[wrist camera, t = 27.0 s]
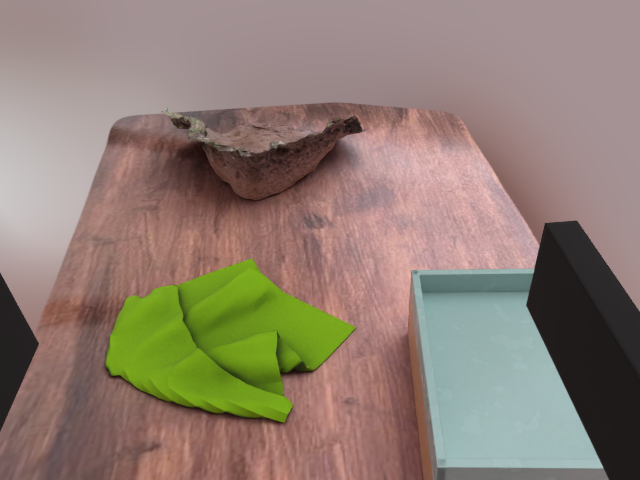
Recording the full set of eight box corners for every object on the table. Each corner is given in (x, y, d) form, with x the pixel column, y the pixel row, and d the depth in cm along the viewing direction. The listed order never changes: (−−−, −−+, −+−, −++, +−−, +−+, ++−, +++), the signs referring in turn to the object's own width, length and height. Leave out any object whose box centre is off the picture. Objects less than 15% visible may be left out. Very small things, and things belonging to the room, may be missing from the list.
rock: (364, 146, 84) (361, 78, 79) (370, 208, 64) (367, 122, 60) (193, 157, 86) (181, 90, 81) (148, 220, 66) (129, 137, 61)
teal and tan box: (619, 531, 37) (656, 468, 32) (428, 529, 37) (437, 467, 33) (546, 332, 50) (565, 267, 45) (407, 333, 51) (411, 269, 46)
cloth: (101, 299, 57) (93, 281, 55) (308, 244, 62) (307, 227, 60) (114, 481, 41) (105, 463, 40) (389, 388, 46) (390, 369, 45)
